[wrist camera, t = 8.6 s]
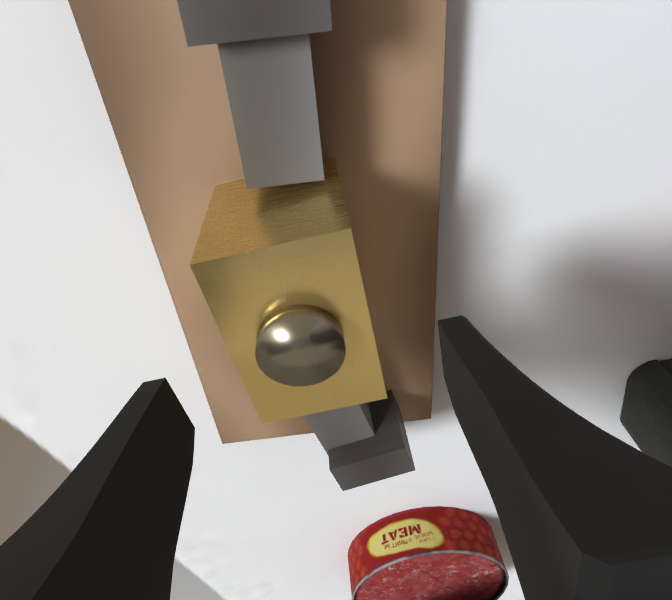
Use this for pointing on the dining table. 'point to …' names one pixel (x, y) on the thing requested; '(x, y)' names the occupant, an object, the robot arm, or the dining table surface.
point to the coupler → (289, 295)
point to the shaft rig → (289, 172)
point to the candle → (650, 409)
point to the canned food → (427, 557)
